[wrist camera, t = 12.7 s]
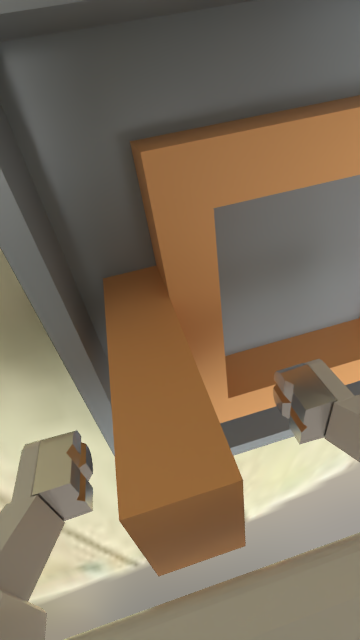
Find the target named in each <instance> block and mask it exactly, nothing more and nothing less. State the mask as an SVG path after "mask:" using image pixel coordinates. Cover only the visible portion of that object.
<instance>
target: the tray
mask: <svg viewBox="0 0 360 640" xmlns="http://www.w3.org/2000/svg"><path fill="white" fill-rule="evenodd" d="M358 95H360V0H0V248H1V250H2V252H3V254H4V255H5V257H6V259H7V261H8V263H9V265H10V266H11V268H12V270H13V272H14V274H15V275H16V277H17V279H18V281H19V283H20V285H21V286H22V288H23V290H24V292H25V294H26V296H27V297H28V299H29V301H30V303H31V305H32V307H33V308H34V310H35V312H36V314H37V316H38V317H39V319H40V321H41V323H42V325H43V327H44V328H45V330H46V332H47V334H48V336H49V338H50V339H51V341H52V343H53V345H54V347H55V349H56V350H57V352H58V354H59V356H60V358H61V359H62V361H63V363H64V365H65V367H66V369H67V370H68V372H69V374H70V376H71V378H72V380H73V381H74V383H75V385H76V387H77V389H78V391H79V392H80V394H81V396H82V398H83V400H84V402H85V403H86V405H87V407H88V409H89V411H90V412H91V414H92V416H93V418H94V420H95V422H96V423H97V425H98V427H99V429H100V431H101V433H102V434H103V436H104V438H105V440H106V442H107V444H108V445H109V447H110V449H111V451H112V453H113V454H114V456H115V451H114V436H113V421H112V407H111V392H110V377H109V362H108V348H107V333H106V318H105V303H104V288H103V278H107V277H111V276H115V275H119V274H123V273H128V272H132V271H136V270H140V269H144V268H148V267H152V266H156V261H155V256H154V252H153V247H152V242H151V238H150V233H149V229H148V224H147V219H146V215H145V210H144V205H143V201H142V196H141V192H140V187H139V182H138V178H137V173H136V168H135V164H134V159H133V154H132V150H131V145H130V141H134V140H139V139H144V138H149V137H154V136H159V135H164V134H169V133H174V132H179V131H184V130H189V129H194V128H199V127H204V126H209V125H214V124H219V123H224V122H229V121H234V120H239V119H244V118H249V117H253V116H258V115H263V114H268V113H273V112H278V111H283V110H288V109H293V108H298V107H303V106H308V105H313V104H318V103H323V102H328V101H333V100H338V99H343V98H348V97H353V96H358ZM214 219H215V232H216V245H217V258H218V271H219V284H220V297H221V310H222V323H223V336H224V349H225V356H227V355H231V354H235V353H238V352H242V351H245V350H249V349H252V348H256V347H259V346H263V345H266V344H270V343H273V342H277V341H280V340H284V339H288V338H291V337H295V336H298V335H302V334H305V333H309V332H312V331H316V330H319V329H323V328H326V327H330V326H333V325H337V324H341V323H344V322H348V321H351V320H355V319H358V318H359V317H360V175H356V176H352V177H347V178H343V179H339V180H334V181H330V182H326V183H321V184H317V185H313V186H308V187H304V188H300V189H295V190H291V191H287V192H282V193H278V194H274V195H269V196H265V197H261V198H256V199H252V200H248V201H243V202H239V203H235V204H230V205H226V206H222V207H217V208H214ZM345 386H346V387H347V388H348V389H349V390H350V391H351V392H352V394H353V395H354V396H356V395H360V381H357V382H354V383H351V384H347V385H345ZM220 425H221V427H222V430H223V432H224V435H225V437H226V439H227V442H228V444H229V447H230V449H231V452H232V454H233V455H237V454H240V453H243V452H246V451H249V450H252V449H255V448H259V447H262V446H265V445H268V444H271V443H274V442H277V441H280V440H284V439H287V438H290V437H293V436H294V434H293V433H292V431H291V430H290V428H289V419H288V418H286V417H284V416H283V415H281V413H280V411H279V410H278V408H277V406H275V407H272V408H269V409H266V410H262V411H259V412H256V413H253V414H249V415H246V416H243V417H239V418H236V419H233V420H230V421H226V422H223V423H220Z"/></svg>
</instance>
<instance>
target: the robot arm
mask: <svg viewBox="0 0 360 640" xmlns="http://www.w3.org/2000/svg"><path fill="white" fill-rule="evenodd" d="M274 380H275V382H276V383H277V384H276V385H275V386H274V388H273V396H274V400H275V403H276V406H277V408H278V410H279V411H280V413H281V415H283V416H284V417H286V418H288V419H289V428H290V430H291V431H292V433H293V434H294V436H295V438H296V439H297V441H298V442H299V444H302V443H306V442H309V441H313V440H316V439H320V438H323V437H325V439H326V440H327V441H329V442H330V443H332V444H333V445H335V446H336V447H338V448H339V449H341V450H342V451H344V452H345V453H347V454H348V455H350V456H351V457H353V458H354V459H356V460H357V461H359V462H360V395H356V396H354V395H353V394H352V392H351V391H350V390H349V389H348V388H347V387H346V386H345V385H344V384H343V383H342V381H341V380H340V379H339V378H338V377H337V376H336V375H335V374H334V373H333V372H332V370H331V369H330V368H329V367H328V366H327V365H326V364H325V363H324V362H323V361H322V360H320V359H316V360H312V361H309V362H306V363H301V364H298V365H295V366H291V367H288V368H285V369H282V370H278V371H276V372H275V373H274ZM92 474H93V464H92V458H91V453H90V451H89V448H88V446H87V445H86V444H85V443H82V442H81V435H80V434H79V432H78V431H73V432H69V433H66V434H62V435H58V436H54V437H51V438H47V439H43V440H40V441H36V442H33V443H29V444H26V445H25V446H24V448H23V450H22V452H21V457H20V462H19V467H18V472H17V477H16V482H15V487H14V492H13V497H12V502H11V503H9V504H6V505H5V506H4V508H3V509H2V511H1V512H0V640H45V629H46V616H47V613H46V612H45V611H44V610H43V609H42V608H40V607H38V606H36V605H34V604H31V603H29V602H28V601H29V598H30V596H31V594H32V592H33V590H34V588H35V586H36V583H37V581H38V579H39V577H40V575H41V573H42V571H43V568H44V566H45V564H46V562H47V560H48V558H49V556H50V553H51V551H52V549H53V547H54V545H55V543H56V541H57V538H58V536H59V534H60V532H61V530H62V528H63V526H64V523H65V522H64V521H66V520H68V519H71V518H74V517H77V516H80V515H83V514H86V513H88V512H91V511H93V488H92V486H91V485H90V483H89V482H88V481H89V479H90V477H91V475H92ZM64 640H360V533H357V534H355V535H352V536H349V537H346V538H343V539H341V540H338V541H335V542H332V543H330V544H327V545H324V546H321V547H319V548H316V549H313V550H310V551H307V552H305V553H302V554H299V555H296V556H294V557H291V558H288V559H285V560H283V561H280V562H277V563H274V564H271V565H269V566H266V567H263V568H260V569H258V570H255V571H252V572H249V573H247V574H244V575H241V576H238V577H235V578H233V579H230V580H227V581H224V582H222V583H219V584H216V585H213V586H211V587H208V588H205V589H202V590H199V591H197V592H194V593H191V594H188V595H186V596H183V597H180V598H177V599H175V600H172V601H169V602H166V603H164V604H161V605H158V606H155V607H152V608H150V609H147V610H144V611H141V612H139V613H136V614H133V615H130V616H128V617H125V618H122V619H119V620H116V621H114V622H111V623H108V624H105V625H103V626H100V627H97V628H94V629H92V630H89V631H86V632H83V633H80V634H78V635H75V636H72V637H69V638H67V639H64Z"/></svg>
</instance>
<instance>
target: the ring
mask: <svg viewBox="0 0 360 640" xmlns="http://www.w3.org/2000/svg"><path fill="white" fill-rule="evenodd" d="M130 145H131V150H132V154H133V159H134V164H135V168H136V173H137V178H138V182H139V187H140V192H141V196H142V201H143V205H144V210H145V215H146V219H147V224H148V229H149V233H150V238H151V242H152V247H153V252H154V256H155V261H156V266H152V267H148V268H144V269H140V270H136V271H132V272H128V273H123V274H119V275H115V276H111V277H107V278H103V288H104V303H105V318H106V333H107V348H108V362H109V377H110V392H111V407H112V421H113V436H114V451H115V466H116V481H117V495H118V510H119V521H120V522H121V524H122V525H123V527H124V528H125V530H126V531H127V532H128V534H129V535H130V537H131V538H132V539H133V541H134V542H135V544H136V545H137V546H138V548H139V549H140V551H141V552H142V554H143V555H144V556H145V558H146V559H147V561H148V562H149V563H150V565H151V566H152V568H153V569H154V570H155V572H156V573H157V575H158V576H161V575H164V574H167V573H170V572H173V571H175V570H178V569H181V568H184V567H187V566H190V565H193V564H195V563H198V562H201V561H204V560H207V559H210V558H212V557H215V556H218V555H221V554H224V553H227V552H230V551H232V550H235V549H238V548H241V547H244V546H245V521H244V496H243V479H242V477H241V474H240V472H239V469H238V467H237V464H236V462H235V459H234V457H233V454H232V452H231V449H230V447H229V444H228V442H227V439H226V437H225V435H224V432H223V430H222V427H221V425H220V423H223V422H226V421H230V420H233V419H236V418H239V417H243V416H246V415H249V414H253V413H256V412H259V411H262V410H266V409H269V408H272V407H275V406H276V403H275V400H274V396H273V388H274V386H275V385H276V384H277V383H276V382H275V380H274V373H275V372H276V371H278V370H282V369H285V368H288V367H291V366H295V365H298V364H301V363H306V362H309V361H312V360H316V359H320V360H322V361H323V362H324V363H325V364H326V365H327V366H328V367H329V368H330V369H331V370H332V372H333V373H334V374H335V375H336V376H337V377H338V378H339V379H340V380H341V381H342V383H343V384H344V385H347V384H351V383H354V382H357V381H360V317H359V318H358V319H355V320H351V321H348V322H344V323H341V324H337V325H333V326H330V327H326V328H323V329H319V330H316V331H312V332H309V333H305V334H302V335H298V336H295V337H291V338H288V339H284V340H280V341H277V342H273V343H270V344H266V345H263V346H259V347H256V348H252V349H249V350H245V351H242V352H238V353H235V354H231V355H227V356H225V349H224V336H223V323H222V310H221V297H220V284H219V271H218V258H217V245H216V232H215V219H214V208H217V207H222V206H226V205H230V204H235V203H239V202H243V201H248V200H252V199H256V198H261V197H265V196H269V195H274V194H278V193H282V192H287V191H291V190H295V189H300V188H304V187H308V186H313V185H317V184H321V183H326V182H330V181H334V180H339V179H343V178H347V177H352V176H356V175H360V95H358V96H353V97H348V98H343V99H338V100H333V101H328V102H323V103H318V104H313V105H308V106H303V107H298V108H293V109H288V110H283V111H278V112H273V113H268V114H263V115H258V116H253V117H249V118H244V119H239V120H234V121H229V122H224V123H219V124H214V125H209V126H204V127H199V128H194V129H189V130H184V131H179V132H174V133H169V134H164V135H159V136H154V137H149V138H144V139H139V140H134V141H130Z"/></svg>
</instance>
